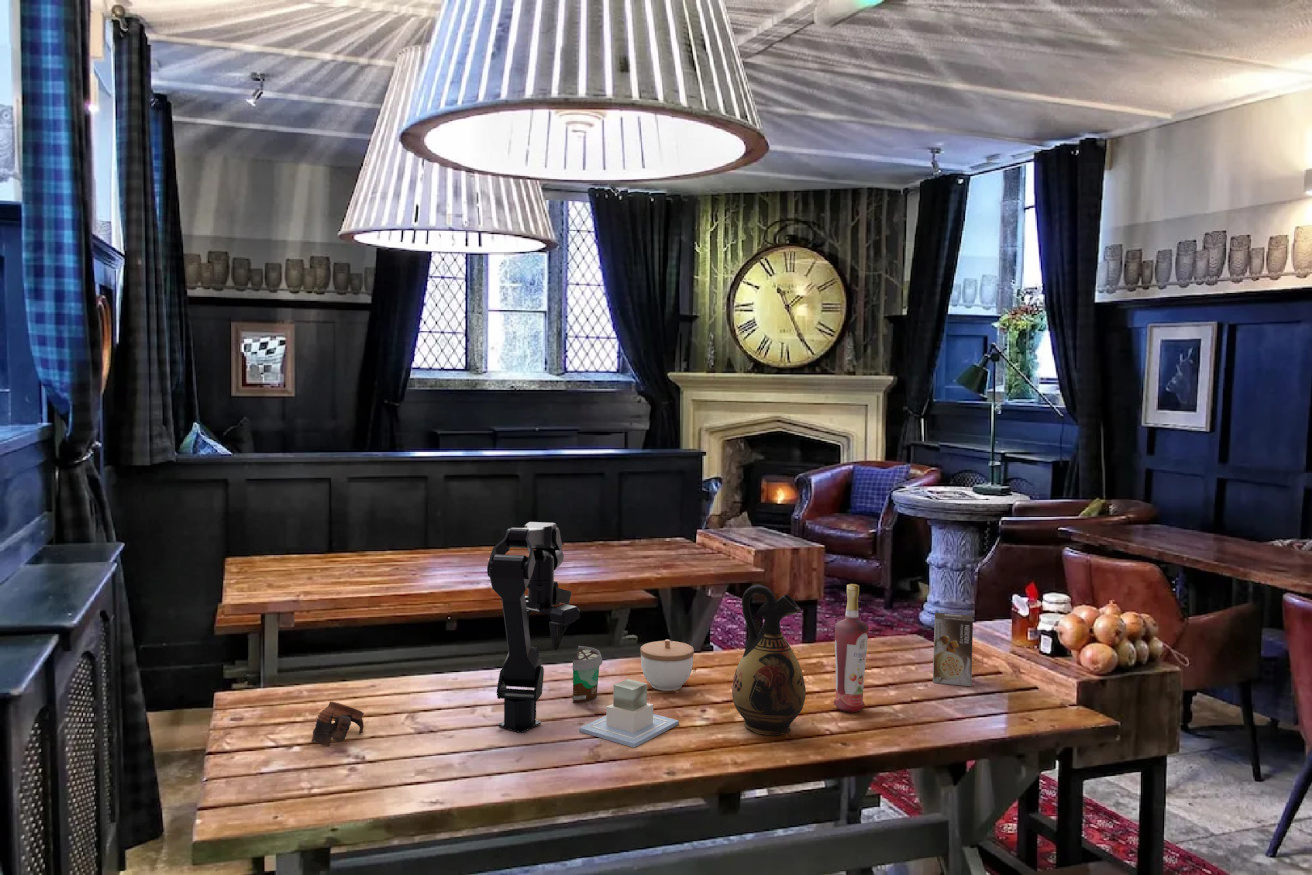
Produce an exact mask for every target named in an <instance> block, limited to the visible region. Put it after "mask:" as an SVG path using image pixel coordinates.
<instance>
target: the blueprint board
mask: <svg viewBox="0 0 1312 875" xmlns="http://www.w3.org/2000/svg"><path fill="white" fill-rule="evenodd" d="M605 714H606V715H603V716H602V717H600V718H598V719H595V720H594V721H591V722H589V723H587V724H585V725H583V726H580V727H579V730H578V731H579V733H583V734H587V735H590V736H593V737H597V738H600V739H604V740H607V741H610V742H613V743H617V744H621V745H624V746H628V747H631V748H636V747H638V746H640V745H642V744H644V743H646V742H649V741H651V739H653V738H655V737H657V736H660V735H662V734H663V733H665V732H667V731H668V730H670V729H672V728H674V727H676V726H678V725H679V722H680V721H679V720H678V719H674V718H670V717H667V716H663V715H659V714H655V713H654V704H653V703H648V702H647V705H645V706H643V707H641V708H639V709H637V710H634V711H630V710H626V709H622V708H618V707H615V706H613V703H611V704H610V705H607V706H606V713H605Z"/></svg>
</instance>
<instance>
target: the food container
mask: <svg viewBox="0 0 1312 875" xmlns="http://www.w3.org/2000/svg"><path fill="white" fill-rule="evenodd" d="M602 664H603V658H602V654H601V652H600V650H598V649H597V648H594V647H589V646H583V645H582V646H581V645H577V654H576V655H575V659H574V660H572V703H573V704H582V703H583V704H584V703H588V702H592V701H594V700H595V699H597V697H598V686H599V685H598V684H599V675H600V666H601V665H602Z"/></svg>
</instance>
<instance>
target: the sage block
mask: <svg viewBox="0 0 1312 875" xmlns="http://www.w3.org/2000/svg"><path fill="white" fill-rule="evenodd" d="M612 693H613V698H612V700H613V703H612V704H613V706H615V707H618V708H622V709H626V710H630V711H634V710H637V709H639V708H641V707H643V706H645V705H647V703H648V683H646V682H642V681H638V680H634V679H630V678H627V679H624V680H622V681H620V682H618V683H615V684H613V692H612Z"/></svg>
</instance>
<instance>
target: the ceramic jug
mask: <svg viewBox="0 0 1312 875" xmlns="http://www.w3.org/2000/svg"><path fill="white" fill-rule="evenodd" d="M756 596H763V597H764V598H765V599H766V602H764V603H763V604H761V605H760V607H759V608H758V609H757V611H756V615H757V617H761V618H763V624H762V626H761V628H760V629H759V630H760V631H759V632H757V630H756V629H757V628H756V625H755V623H754V620H753V616H752V615H753V614H752V611H751V606H750V603H751V602H750V601H751V599H752V598H753V597H756ZM741 608H742V610H741V611H742V614H743V618H744V621H745V624H746V627H747V631H748V632H747V633H748V638H747V641H746V644H745V649H744V653H743V655H742V656H741V658H740V660H739V663H738V665H737V667H736V669H735V672H734V675H733V680H732V685H731V697H732V701H733V704H734V707H735V709H736V711H737V712H738V714H739V715H740V716H741V717H742V719H743V720H744V723H743V725H744V727H745V728H746V729H748V730H750V731H751V732H754V733H756V734H762V735H765V736H771V737H778V736H780V735H785V734H787V733H789V732H790V731H791V728H790V727H791V725H792V723H793V721H795V720H796V718H797V717H798V716H799V715H800V714H801V712H802V711H803V708H804V705H805V701H806V699H807V698H806V695H807V694H806V693H807V691H806V690H807V689H806V683H805V678H804V674H803V671H802V668H801V667H802V666H801V664H800V662H799V660H798V659H797V657H796V655H795V653H794V651H793V648H792V647H791V645H790V644H789V642H788V641H787V639H786V637H784V635H783V632H782V630H781V626H780V624H781V623H780V622H781V620H783V619H784V618H785V617H789V616H791V615H795V614H798V613H800V612H802V609H801V607H800V606H799V605H798V604H797V603H796V602H795V600H794V599H793V598H792V596H790V595H789V594H788V593H787V594H784V595H782V596H781V597H780V598H778V599H776V597H775V595H774V592H773V591H772V590H771V589H770V588H769V587H768V586H764V585H762V584H753V585H751V586H749V587H748V588H746V590H745V591H744V593H743V596H742V598H741Z"/></svg>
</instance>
